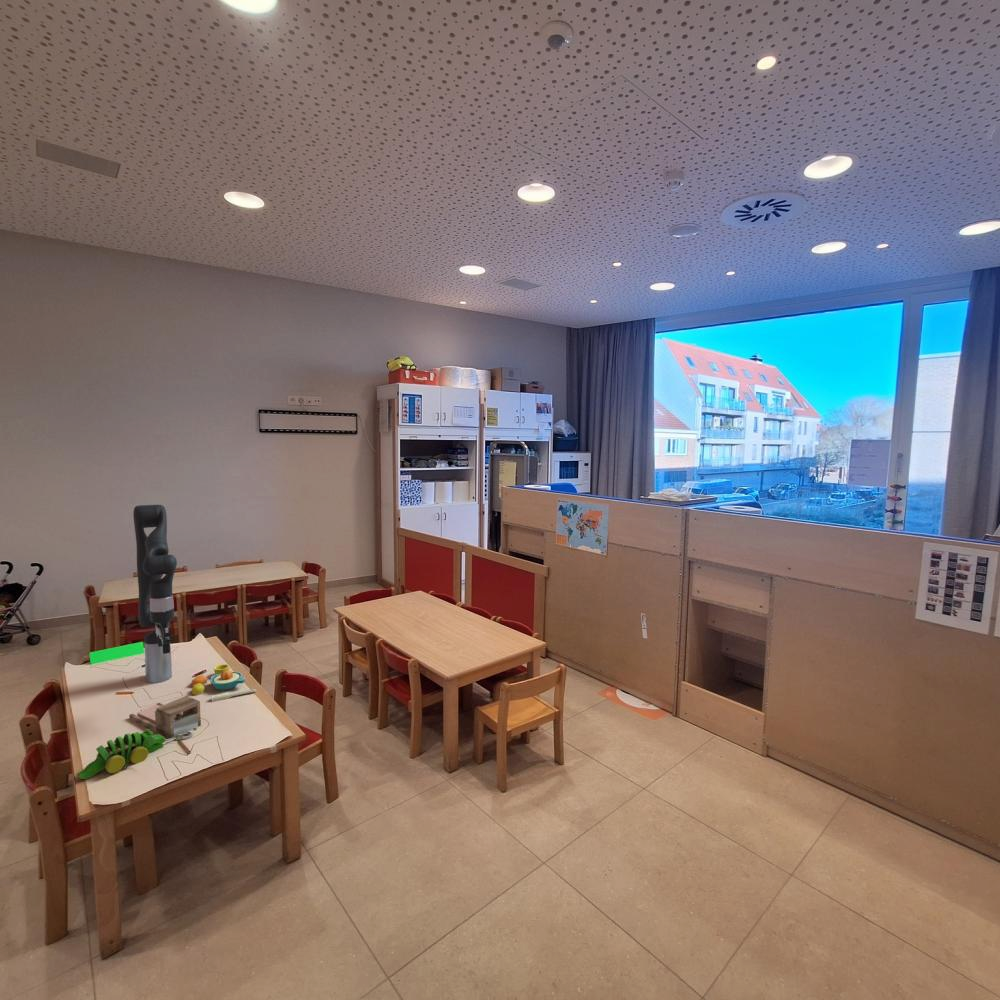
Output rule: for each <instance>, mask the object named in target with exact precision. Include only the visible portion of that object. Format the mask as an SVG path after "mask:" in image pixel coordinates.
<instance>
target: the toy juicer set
mask: <svg viewBox="0 0 1000 1000" xmlns="http://www.w3.org/2000/svg"><path fill="white" fill-rule="evenodd" d="M213 671H214V675H212V676H211V677H210V683H211V685H212V686H213V687H214V688H215V689H216V690H219V691H227V690H231V689H234V688H235V687H236V686H238V685H239V684H244V683H245V681H246V677H243V674H242V673H241V672H240V671H231V670H230V664H225V663H223V664H218V665H216V666H214V668H213ZM205 673H206V670H204V671H203V672H202V674H200V675H196V676H195V677H194V678H193V679H192V680H191V685H192V688H191V693H192V695H193V696H199V695H202V694H204V692H205V689H206V688H205V685H206V683H208V678H207V677H206V676H205V675H204V674H205ZM204 684H205V685H204ZM233 687H234V688H233ZM256 692H257V689H254V688H253V689H250V690H244V691H240V692H234V693H230V692H223V693H218V694H214V695H213V694H212V695H211V702H212V703H213V702H217V701H222V700H227V699H230V698H232V697H237V696H241V695H245V694H250V693H251V694H252V693H256Z"/></svg>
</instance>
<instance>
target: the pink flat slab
mask: <svg viewBox="0 0 1000 1000" xmlns="http://www.w3.org/2000/svg"><path fill="white" fill-rule="evenodd" d="M158 707H161V706H159V705H156V704H155V705H153V706H151V707H148V708H145V709H143V710H140V711H139V712H137V714H136V716H139V717H141V718H143V719H145V720H147V721H149V722H152V723H154V724H156V721H155V711H156V710H157V709H156V708H158ZM175 720H177V717H176V715H174V716H173V721H175Z"/></svg>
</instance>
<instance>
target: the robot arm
mask: <svg viewBox="0 0 1000 1000" xmlns="http://www.w3.org/2000/svg"><path fill="white" fill-rule="evenodd" d="M132 514H133V524H134V525H133V526H134V533H135V543H136V575H137V584H138V585H137V586H138V611H137V612H138V613H137V614H138V623H139V625H140V627H141V628H149V627H155V628H154V629H153V630H151V631H149V632H148V633H146V634H144V637H143V646H144V668H145V669H144V670H145V671H144V672H145V673H144V674H145V681H146V683H149V684H159V683H164V682H166V681H168V680H171V678H172V677H173V669H172V665H173V664H172V652H171V651H172V650H171V649H172V647H171V644H172V642H173V641H172V629H171V628H172V627H171V626H170V622H171V621H173V620H174V619H175V604H174V595H173V580H174V576H175V571H176V568H177V564H178V561H177V557H175V556H174V555H173V554H169V551H170V549H169V545H168V540H167V538H168V537H167V535H168V534H167V533H168V532H167V531H168V527H167V526H168V525H167V524H168V523H167V521H168V517H167V510H166V507H165V506H164V505H163V504H144V505H143V504H141V505H136V506H135V507H134V508H133V513H132ZM146 528H147V529H148V528H149V529H150V528H154V529H153V530H152V531H151V532H150V533H149V534H148V536H147V534H146V532H145V529H146ZM163 575H164V577H163Z"/></svg>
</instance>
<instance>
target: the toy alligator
mask: <svg viewBox="0 0 1000 1000" xmlns="http://www.w3.org/2000/svg"><path fill="white" fill-rule="evenodd" d="M153 732H154V731H152V730H150V729H148V728H146V729H145V730H144V731H142V732H141V733H140V732H138V731H137V732H133V733H125V734H124V735H123V737H122V736H117V737H116V738H115V742H114V741H113V740H112V739H109V740H107V741H106V744H107V746H104V745H102V744H101V745H99V746H98V747H96V751H97V754H96V758H95V759H94V760H93V761H91V762H90V763H88V764H87V765H86V766H85V767H84V769H82V770H81V771H79V772H77V774H76V776H77V777H78V778H79V779H82V780H86V779H90V778H92V777H93V776H95V775H97V774H98V773H100V771H102V770H104V768H105V771H106V772H108V773H110V774H115V773H117V772H119V771H121V770H122V769H123V768H124V766H126V765H128V764H129V763H132V764H140V763H142V762H144V761H145V760H146V759H147V757H148V756H149V754H150V753H152V752H155V751H157V750H161V749H163V748H164V743H165V742H167V741H171V740H174V739H176V740H177V741H182V740H183V741H185V740H190V739H192V738H193V737H194V735H193V732H192V731H191V730H190V731H188V732H185V733H181V734H177V736H176V737H173V738H170V739H169V738H166V737H165V736H163V735H160V734H158V733H156V734H154V733H153Z"/></svg>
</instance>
